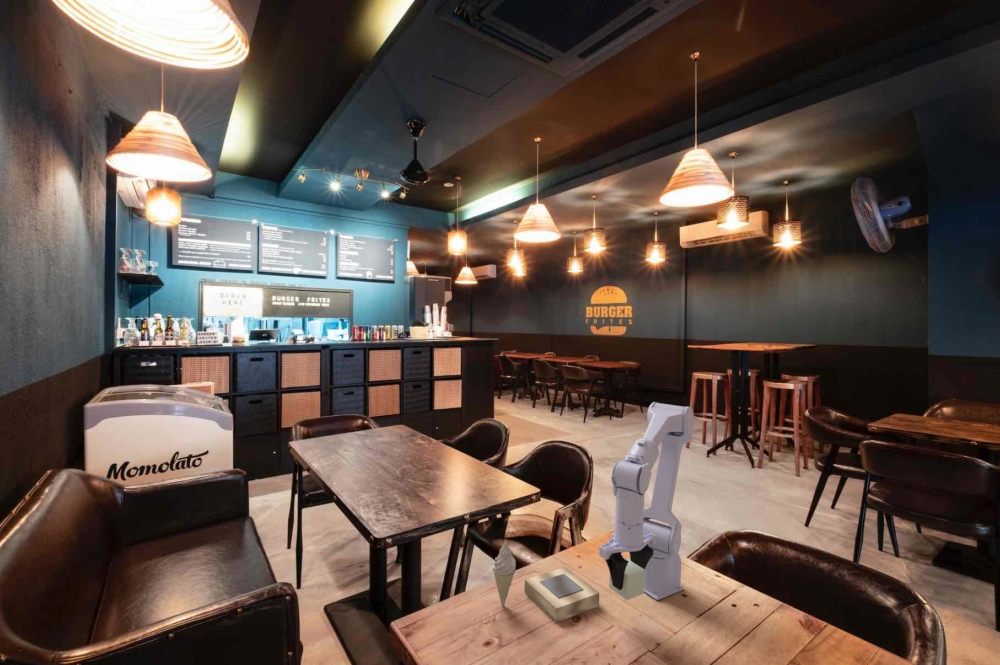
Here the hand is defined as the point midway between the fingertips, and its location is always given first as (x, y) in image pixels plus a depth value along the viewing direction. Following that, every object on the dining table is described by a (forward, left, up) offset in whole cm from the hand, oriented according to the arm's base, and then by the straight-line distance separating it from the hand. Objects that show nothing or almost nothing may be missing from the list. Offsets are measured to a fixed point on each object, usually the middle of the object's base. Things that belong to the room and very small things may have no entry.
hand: (626, 583), depth 95 cm
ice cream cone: (+20, -17, -9) cm, 28 cm away
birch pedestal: (+7, -13, -8) cm, 17 cm away
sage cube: (0, 0, -1) cm, 1 cm away
